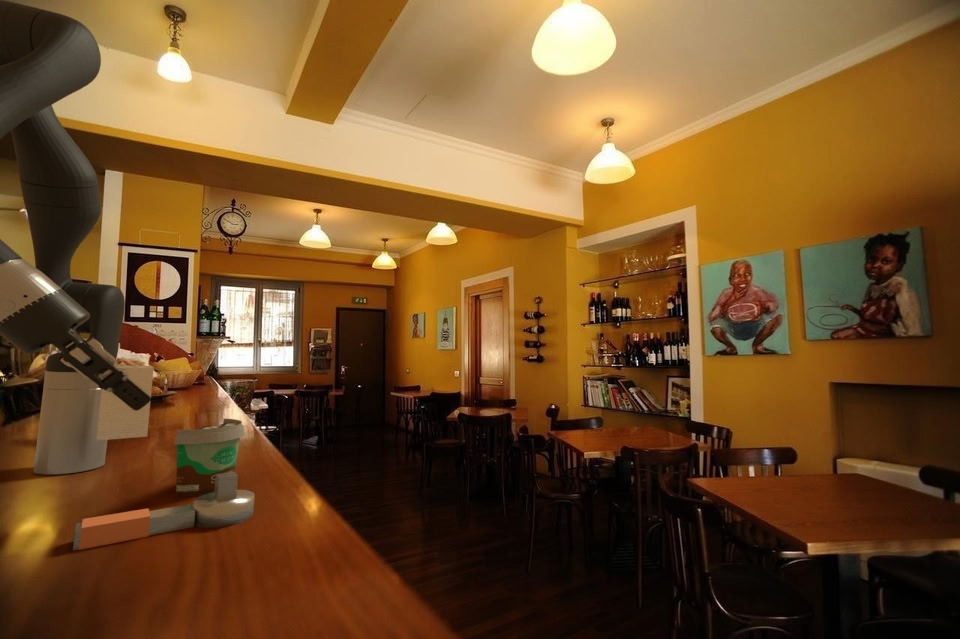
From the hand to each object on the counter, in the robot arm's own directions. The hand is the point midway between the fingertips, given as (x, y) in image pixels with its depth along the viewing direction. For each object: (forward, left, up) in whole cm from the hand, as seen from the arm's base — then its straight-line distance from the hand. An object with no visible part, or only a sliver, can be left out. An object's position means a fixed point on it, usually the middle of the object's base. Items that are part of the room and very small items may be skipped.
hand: (143, 402), depth 58 cm
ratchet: (+8, +4, -15) cm, 17 cm away
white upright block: (0, -2, -4) cm, 5 cm away
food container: (-6, +11, -15) cm, 19 cm away
